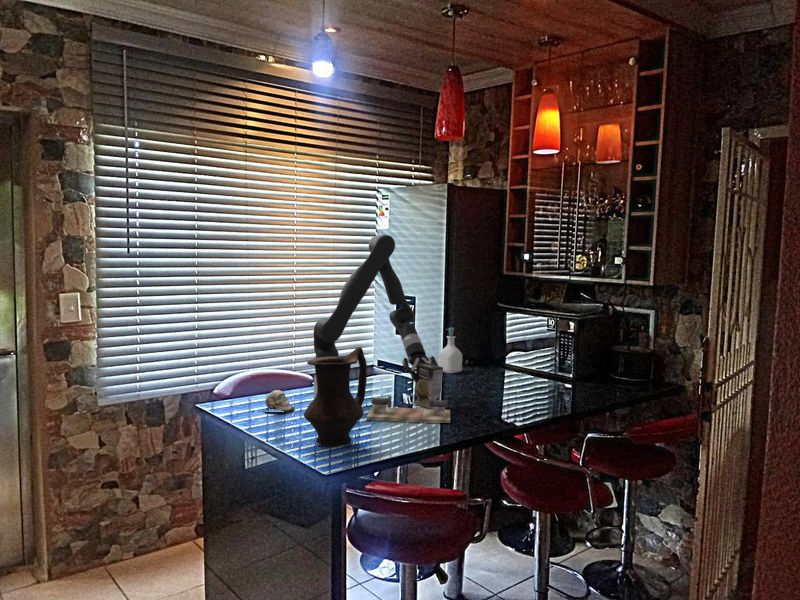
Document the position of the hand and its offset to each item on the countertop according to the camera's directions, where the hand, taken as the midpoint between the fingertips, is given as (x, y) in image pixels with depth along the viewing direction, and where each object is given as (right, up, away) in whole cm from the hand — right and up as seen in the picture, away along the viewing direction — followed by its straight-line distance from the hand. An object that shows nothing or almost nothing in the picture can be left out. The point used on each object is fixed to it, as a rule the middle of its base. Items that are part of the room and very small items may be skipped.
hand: (425, 379), depth 246 cm
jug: (-30, -14, -50) cm, 60 cm away
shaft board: (-7, -11, -18) cm, 22 cm away
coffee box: (0, -10, 0) cm, 10 cm away
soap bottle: (+15, -5, +71) cm, 73 cm away
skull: (-57, -10, -11) cm, 59 cm away
